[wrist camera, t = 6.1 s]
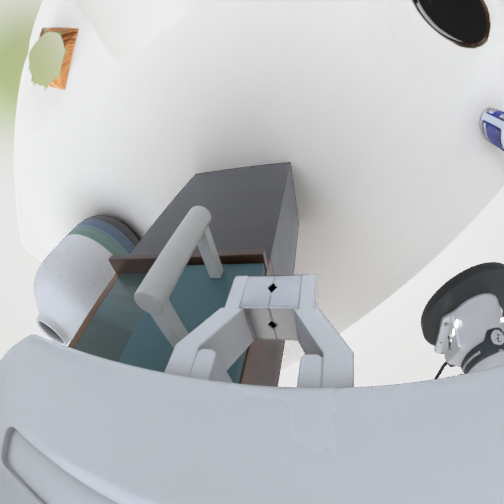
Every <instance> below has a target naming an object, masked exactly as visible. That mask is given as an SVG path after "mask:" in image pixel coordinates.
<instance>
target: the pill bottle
mask: <svg viewBox="0 0 504 504" xmlns="http://www.w3.org/2000/svg"><path fill="white" fill-rule="evenodd" d="M480 127H481V131H482V134H483V136H484V137H485V138H486V139H487V140H488V141H489V142H491V143H492V144H494V145H495V146H497V147H499V148H500V149H501V150H503V151H504V112H502V111H500V110H497V109H495V108H489V109H487V110H485V111H484V113H483V114H482V116H481V120H480Z"/></svg>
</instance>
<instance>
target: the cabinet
mask: <svg viewBox="0 0 504 504" xmlns="http://www.w3.org/2000/svg"><path fill="white" fill-rule="evenodd" d="M194 206H203V207H205V208H206V209H207V210H208V211H209V212H210V214H211V221H210V223H209V225H208V226H209V229H210V232H211V235H212V238H213V241H214V244H215V247H216V250H217V253H218V256H219V258H220V261H221V264H254V263H263V264H264V268H265V275H264V276H276V275H293V274H294V265H295V256H296V247H297V237H298V227H299V222H298V214H297V206H296V199H295V192H294V185H293V178H292V171H291V165H290V162H288V163H277V164H267V165H258V166H250V167H242V168H234V169H227V170H220V171H213V172H207V173H200V174H195V175H194V177H193V178H192V179H191V180H190V181H189V182H188V183H187V184H186V186H185V187H184V188H183V189H182V190H181V191H180V192H179V194H178V195H177V196H176V197H175V198H174V199H173V201H172V202H171V203H170V204H169V205H168V207H167V208H166V209H165V210H164V211H163V213H162V214H161V215H160V216H159V218H158V219H157V220H156V221H155V222H154V224H153V225H152V226H151V227H150V229H149V230H148V231H147V232H146V234H145V235H144V236H143V238H142V239H141V240H140V241H139V243H138V244H137V245H136V247H135V248H134V249H133V251H132V252H131V253H130V255H113V256H110V258H109V259H108V260H109V262H110V264H111V265H112V267H113V269H114V271H115V272H116V274H115V275H114V276H113V278H112V279H111V281H110V282H109V284H108V285H107V286H106V288H105V289H104V291H103V292H102V294H101V295H100V297H99V298H98V300H97V301H96V303H95V304H94V306H93V307H92V309H91V310H90V312H89V313H88V315H87V316H86V318H85V320H84V321H83V323H82V324H81V326H80V328H79V329H78V331H77V332H76V334H75V336H74V337H73V339H72V341H71V342H70V344H69V346H68V347H70V348H73V349H76V350H79V351H82V352H85V353H88V354H92V355H95V356H98V357H102V358H105V359H109V360H113V361H116V362H119V360H120V358H121V356H122V354H123V352H124V350H125V348H126V346H127V344H128V342H129V340H130V338H131V336H132V334H133V332H134V331H135V329H136V327H137V325H138V323H139V321H140V319H141V317H142V316H143V314H144V312H145V311H144V310H143V309H141V308H140V307H139V306H138V305H137V304H136V302H135V300H134V294H135V292H136V291H137V289H138V288H139V286H140V284H141V283H142V281H143V280H144V278H145V276H146V275H147V273H148V272H149V270H150V268H151V267H152V265H153V264H154V262H155V261H156V259H157V258H158V256H159V255H160V253H161V252H162V250H163V249H164V247H165V246H166V244H167V243H168V241H169V240H170V238H171V237H172V235H173V234H174V232H175V231H176V229H177V228H178V226H179V225H180V224H181V222H182V221H183V219H184V218H185V216H186V215H187V214H188V212H189V211H190V209H191V208H192V207H194ZM187 265H205V263H204V261H203V258H202V256H201V253H200V250H199V248H198V245H197V246H196V248H195V250H194V252H193V254H192V255H191V257H190V259H189V261H188V263H187ZM284 342H285V340H279V339H254V341H253V342H252V343H251V344H250V345H249V347H248V348H247V352H246V356H245V360H244V364H243V368H242V372H241V376H240V380H239V384H248V385H260V386H274V387H278V381H279V375H280V369H281V363H282V356H283V349H284Z"/></svg>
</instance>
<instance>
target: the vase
mask: <svg viewBox="0 0 504 504" xmlns="http://www.w3.org/2000/svg"><path fill="white" fill-rule="evenodd" d="M138 243H139V240H138V238H137V237H136V235H135V234H134V233H133V232H132V231H131V230H130V229H129V228H128V227H127V226H126V225H125V224H123V223H122V222H120V221H119V220H117V219H115V218H112V217H109V216H104V215H98V216H93V217H90V218H87V219H85V220H84V221H82V222H81V223H79V224H78V225H77V226H76V227H75V228H74V229H73V230H72V231H71V232H70V233H69V234H68V235H67V236H66V237H65V238H64V239H63V240H62V241H61V242H60V243H59V244H58V245H57V246H56V247H55V249H54V250H53V251H52V252H51V253H50V254H49V255H48V256H47V257H46V259H45V260H44V261H43V263H42V264H41V265H40V267H39V269H38V271H37V274H36V276H35V280H34V296H35V300H36V304H37V307H38V312H39V315H38V318H37V324H38V326H39V327H40V328H41V330H42V331H43V332H44V333H45V334H46V335H47V336H48V337H49V338H51V339H52V340H54V341H55V342H56V343H58V344H61V345H64V346H65V345H66V344H67V343H68V342H69V341H72V339H73V337H74V336H75V334H76V332H77V331H78V329H79V328H80V326H81V324H82V323H83V321H84V320H85V318H86V316H87V315H88V313H89V312H90V310H91V309H92V307H93V306H94V304H95V303H96V301H97V300H98V298H99V297H100V295H101V294H102V292H103V291H104V289H105V288H106V286H107V285H108V284H109V282H110V281H111V279H112V278H113V276H114V275H115V274H116V272H115V271H114V269H113V267H112V265H111V264H110V262H109V260H108V259H109V258H110V256H113V255H130V253H131V252H132V251H133V249H134V248H135V247H136V245H137V244H138Z"/></svg>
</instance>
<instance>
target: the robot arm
mask: <svg viewBox="0 0 504 504" xmlns="http://www.w3.org/2000/svg"><path fill="white" fill-rule="evenodd" d="M502 313H503V310H502V307H501V306H500V305H499V303H498V299H497V297H496V296H495V295H494V294H491V293H484V294H479V295H476V296H474V297H472V298H470V299H468V300H466V301H465V302H463V303H462V304H461V305H459V306H458V307H457V308H456V309H455V310H453V311H452V312H450V313H448V314H446V315H444V316H443V317H442V318H441V322H440V327H439V331H438V336H437V340H436V344H435V352H437V353H441V354H445V358H446V362H445V363H444V364H443V365H442V367H441V368H440V370H439V372H438V374H437V375H436V377H435V379H434V380H428V381H421V382H413V383H405V384H396V385H385V386H371V387H354V356H353V352H352V350H351V349H350V348H349V346H348V345H347V344H346V342H345V341H344V340H343V339H342V337H341V336H340V335H339V333H338V332H337V331H336V329H335V328H334V327H333V325H332V324H331V323H330V322H329V320H328V319H327V318H326V316H325V315H324V314H323V313H322V311H321V310H320V309H319V308H318V292H317V275H316V274H302V275H276V276H260V275H250V276H236V277H235V278H234V281H233V284H232V287H231V290H230V293H229V296H228V299H227V302H226V305H225V308H220V309H219V310H217V311H216V312H215V313H214V314H213V315H211V316H210V317H209V318H208V319H206V320H205V321H204V322H203V323H202V324H200V325H199V326H198V327H197V328H195V329H194V330H193V331H192V332H191V333H189V334H188V335H187V336H186V337H184V338H183V339H182V340H181V341H179V342H178V343H177V344H176V345H175V348H174V350H173V352H172V355H171V357H170V360H169V362H168V364H167V367H166V369H165V372H159V371H154V370H150V369H145V368H141V367H136V366H132V365H128V364H124V363H120V362H116V361H113V360H109V359H105V358H102V357H98V356H95V355H92V354H88V353H85V352H82V351H79V350H76V349H73V348H70V347H67V346H64V345H61V344H58V343H56V342H53V341H50V340H47V339H45V338H43V337H40V336H37V335H30V336H28V337H26V338H24V339H23V340H21V341H20V342H19V343H17V344H16V345H15V346H13V347H12V348H11V349H10V350H9V351H8V352H7V353H6V354H5V356H4V357H3V358H2V360H1V361H0V504H504V318H503V316H502ZM254 339H279V340H298V341H299V343H300V345H301V347H302V349H303V350H304V352H305V355H304V356H302V357H301V360H300V368H299V376H298V383H297V388H293V387H274V386H260V385H248V384H237V383H233V381H232V379H231V378H230V376H229V374H228V373H227V370H228V369H229V368H230V367H231V365H232V364H233V363H234V362H235V361H236V360H237V359H238V358H239V357H240V356H241V354H242V353H243V352H244V351H245V350H246V349H247V348H248V347H249V345H250V344H251V343H252V342H253V341H254ZM447 364H448V365H449V366H450V367H453V366H458V367H461V368H462V370H463V372H464V374H460V375H457V376H452V377H446V378H441V379H438V377H439V375H440V374H441V372H442V370H443V369H444V367H445V366H446V365H447Z"/></svg>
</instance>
